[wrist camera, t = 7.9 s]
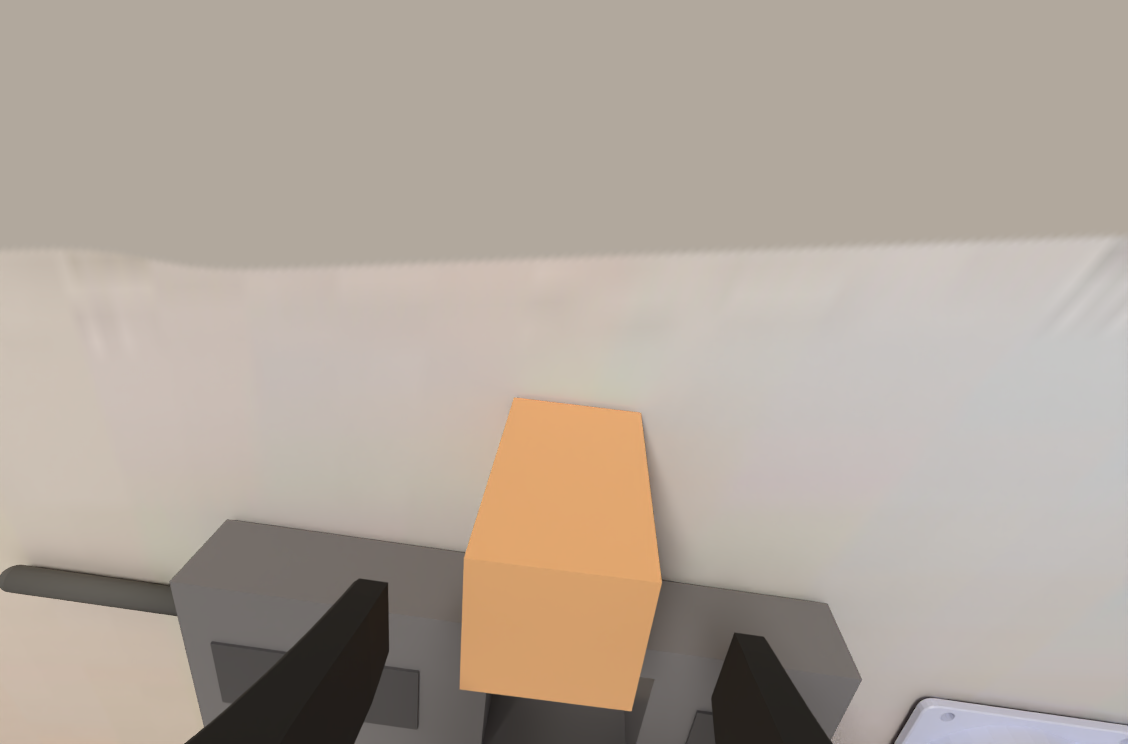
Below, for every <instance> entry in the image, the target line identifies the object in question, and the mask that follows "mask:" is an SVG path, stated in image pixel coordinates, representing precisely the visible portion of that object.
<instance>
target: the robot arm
mask: <svg viewBox="0 0 1128 744" xmlns="http://www.w3.org/2000/svg"><path fill="white" fill-rule="evenodd" d="M388 653H389V602H388V582H381V581H374V580H367V579H361V578H359V579H357V580H356V581H354V582H353V583H352V585H351V586H350V587H349V588H348V589H347V590H346V591H345V592H344V593H343V595H342V596H341V597H340V598H339V599H338V600H337V601H336V602H335V603H334V604H333V606H332V607H331V608H330V609H329V610H328V611H327V612H326V613H325V614H324V615H323V616H322V617H321V618H320V619H319V620H318V621H317V622H316V624H315V625H314V626H313V627H312V628H311V629H310V630H309V631H308V632H307V633H306V634H305V635H304V636H303V637H302V638H301V639H300V640H299V641H298V642H297V643H296V644H295V645H294V646H293V647H292V648H291V649H290V650H289V651H288V652H287V653H286V654H285V655H284V656H283V657H282V658H281V659H280V660H279V661H278V662H277V663H276V664H275V665H274V666H272V667H271V668H270V669H269V670H268V671H267V672H266V673H265V674H264V675H263V676H262V677H261V678H260V679H259V680H257V681H256V682H255V683H254V684H253V685H252V686H251V687H250V688H249V689H248V690H246V691H245V692H244V693H243V694H242V695H241V696H240V697H239V698H238V699H237V700H235V701H234V702H233V703H232V704H231V705H230V706H229V707H228V708H227V709H225V710H224V711H223V712H222V713H221V714H220V715H218V716H217V717H216V718H215V719H214V720H213V721H211V722H210V723H209V724H208V725H207V726H205V727H204V728H203V729H202V730H201V731H199V732H198V733H197V734H196V735H195V736H193V737H192V738H191V739H190V740H188V741H187V742H186V743H185V744H354V743H355V741H356V739H357V736H358V734H359V732H360V730H361V727H362V725H363V723H364V721H365V718H366V716H367V714H368V711H369V709H370V707H371V704H372V702H373V699H374V696H375V693H376V690H377V687H378V684H379V681H380V678H381V675H382V672H383V669H384V666H385V663H386V659H387V656H388ZM711 702H712V714H713V725H714V735H715V744H833V743H832V742H831V741H830V739H829V738H828V736H827V735H826V733H825V732H824V730H823V729H822V727H821V726H820V724H819V723H818V721H817V720H816V718H815V717H814V715H813V713H812V712H811V710H810V709H809V707H808V706H807V704H806V703H805V701H804V699H803V698H802V696H801V695H800V693H799V692H798V690H797V688H796V687H795V685H794V684H793V682H792V680H791V679H790V677H789V676H788V674H787V672H786V671H785V669H784V667H783V666H782V664H781V663H780V661H779V659H778V658H777V656H776V654H775V653H774V651H773V650H772V648H771V646H770V645H769V643H768V641H767V640H766V639H765V637H763V636H756V635H749V634H742V633H735V632H734V635H733V638H732V640H731V643H730V646H729V649H728V652H727V655H726V657H725V660H724V663H723V666H722V669H721V671H720V674H719V677H718V680H717V683H716V685H715V688H714V691H713V694H712V697H711ZM894 744H1128V725H1121V724H1114V723H1107V722H1100V721H1093V720H1086V719H1079V718H1072V717H1065V716H1057V715H1050V714H1043V713H1036V712H1029V711H1022V710H1015V709H1008V708H1001V707H994V706H987V705H980V704H973V703H966V702H958V701H951V700H944V699H937V698H927V699H924V700H922V701H920V702H919V703H918V705H917V706H916V708H915V710H914V711H913V713H912V715H911V716H910V718H909V720H908V721H907V723H906V725H905V726H904V728H903V729H902V731H901V733H900V734H899V736H898V738H897V739H896V741H895V743H894Z"/></svg>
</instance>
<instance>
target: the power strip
mask: <svg viewBox="0 0 1128 744" xmlns="http://www.w3.org/2000/svg"><path fill="white" fill-rule="evenodd" d="M464 556H465V553H463V552H456V551H449V550H442V549H435V548H428V547H420V546H413V545H406V544H399V543H392V542H385V541H378V540H371V539H363V538H356V537H349V536H342V535H335V534H328V533H321V532H314V531H307V530H299V529H292V528H285V527H278V526H271V525H264V524H257V523H250V522H243V521H235V520H228V519H227V520H226V521H225V522H224V523H223V524H222V525H221V526H220V528H219V529H218V530H217V531H216V532H215V533H214V534H213V535H212V536H211V537H210V538H209V539H208V541H207V542H206V543H205V544H204V545H203V546H202V547H201V548H200V549H199V550H198V551H197V552H196V554H195V555H194V556H193V557H192V558H191V559H190V560H189V561H188V562H187V563H186V564H185V565H184V567H183V568H182V569H181V570H180V571H179V572H178V573H177V574H176V575H175V576H174V577H173V578H172V579H171V581H170V586H167V585H160V584H153V583H146V582H139V581H132V580H125V579H118V578H111V577H104V576H97V575H90V574H82V573H75V572H68V571H61V570H54V569H47V568H40V567H33V566H26V565H16V566H12V567H10V568H8V569H6V570H5V571H3V572H2V574H1V575H0V588H1V589H2V590H3V591H6V592H10V593H18V594H25V595H32V596H39V597H46V598H53V599H60V600H67V601H74V602H81V603H88V604H95V605H102V606H109V607H116V608H123V609H130V610H138V611H145V612H152V613H159V614H166V615H173V616H178V620H179V624H180V628H181V632H182V637H183V641H184V645H185V649H186V653H187V658H188V662H189V666H190V670H191V674H192V678H193V683H194V687H195V691H196V695H197V699H198V704H199V708H200V712H201V716H202V720H203V724H204V727H205V726H207V725H208V724H209V723H210V722H211V721H213V720H214V719H215V718H216V717H217V716H218V715H220V714H221V713H222V712H223V711H224V710H225V709H227V708H228V707H229V706H230V705H231V704H232V703H233V702H234V701H235V700H237V699H238V698H239V697H240V696H241V695H242V694H243V693H244V692H245V691H246V690H248V689H249V688H250V687H251V686H252V685H253V684H254V683H255V682H256V681H257V680H259V679H260V678H261V677H262V676H263V675H264V674H265V673H266V672H267V671H268V670H269V669H270V668H271V667H272V666H274V665H275V664H276V663H277V662H278V661H279V660H280V659H281V658H282V657H283V656H284V655H285V654H286V653H287V652H288V651H289V650H290V649H291V648H292V647H293V646H294V645H295V644H296V643H297V642H298V641H299V640H300V639H301V638H302V637H303V636H304V635H305V634H306V633H307V632H308V631H309V630H310V629H311V628H312V627H313V626H314V625H315V624H316V622H317V621H318V620H319V619H320V618H321V617H322V616H323V615H324V614H325V613H326V612H327V611H328V610H329V609H330V608H331V607H332V606H333V604H334V603H335V602H336V601H337V600H338V599H339V598H340V597H341V596H342V595H343V593H344V592H345V591H346V590H347V589H348V588H349V587H350V586H351V585H352V583H353V582H354V581H356V580H357V579H359V578H361V579H367V580H374V581H381V582H388V602H389V653H388V656H387V659H386V663H385V666H384V669H383V672H382V675H381V678H380V681H379V684H378V687H377V690H376V693H375V696H374V699H373V702H372V704H371V707H370V709H369V711H368V714H367V716H366V718H365V721H364V723H363V725H362V727H361V730H360V732H359V734H358V736H357V739H356V741H355V743H354V744H715V735H714V725H713V714H712V702H711V697H712V694H713V691H714V688H715V685H716V683H717V680H718V677H719V674H720V671H721V669H722V666H723V663H724V660H725V657H726V655H727V652H728V649H729V646H730V643H731V640H732V638H733V635H734V632H735V633H742V634H749V635H756V636H763V637H765V639H766V640H767V641H768V643H769V645H770V646H771V648H772V650H773V651H774V653H775V654H776V656H777V658H778V659H779V661H780V663H781V664H782V666H783V667H784V669H785V671H786V672H787V674H788V676H789V677H790V679H791V680H792V682H793V684H794V685H795V687H796V688H797V690H798V692H799V693H800V695H801V696H802V698H803V699H804V701H805V703H806V704H807V706H808V707H809V709H810V710H811V712H812V713H813V715H814V717H815V718H816V720H817V721H818V723H819V724H820V726H821V727H822V729H823V730H824V732H825V733H826V735H827V736H828V738H829V739H830V740H831V738H832V736H833V735H834V733H835V731H836V729H837V727H838V725H839V723H840V721H841V719H842V717H843V715H844V713H845V711H846V710H847V708H848V706H849V704H850V702H851V700H852V698H853V696H854V694H855V692H856V690H857V688H858V687H859V685H860V683H861V681H862V678H861V676H860V674H859V672H858V670H857V667H856V665H855V663H854V661H853V659H852V656H851V654H850V652H849V650H848V648H847V645H846V643H845V641H844V639H843V637H842V635H841V632H840V630H839V628H838V626H837V624H836V621H835V619H834V617H833V615H832V613H831V610H830V608H829V606H828V604H826V603H819V602H812V601H805V600H798V599H790V598H783V597H776V596H769V595H762V594H755V593H748V592H741V591H734V590H726V589H719V588H712V587H705V586H698V585H691V584H684V583H677V582H669V581H662V585H661V589H660V593H659V597H658V601H657V606H656V610H655V614H654V618H653V623H652V627H651V631H650V635H649V640H648V644H647V648H646V652H645V656H644V661H643V665H642V669H641V673H640V678H639V682H638V686H637V690H636V694H635V699H634V703H633V707H632V711H624V710H616V709H609V708H601V707H593V706H585V705H578V704H570V703H562V702H554V701H546V700H539V699H531V698H523V697H515V696H507V695H500V694H492V693H484V692H476V691H468V690H461V689H460V660H461V630H462V599H463V569H464Z"/></svg>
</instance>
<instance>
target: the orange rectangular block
mask: <svg viewBox="0 0 1128 744" xmlns="http://www.w3.org/2000/svg"><path fill="white" fill-rule="evenodd" d="M661 585H662V580H661V572H660V564H659V556H658V547H657V539H656V531H655V523H654V515H653V507H652V499H651V491H650V483H649V474H648V466H647V458H646V450H645V442H644V434H643V426H642V418H641V413H639V412H630V411H622V410H614V409H605V408H597V407H589V406H580V405H572V404H564V403H555V402H547V401H539V400H531V399H522V398H514V400H513V403H512V406H511V409H510V412H509V416H508V419H507V422H506V425H505V428H504V432H503V435H502V438H501V441H500V444H499V448H498V451H497V454H496V457H495V460H494V463H493V467H492V470H491V473H490V476H489V479H488V483H487V486H486V489H485V492H484V495H483V499H482V502H481V505H480V508H479V511H478V515H477V518H476V521H475V524H474V527H473V531H472V534H471V537H470V540H469V543H468V547H467V550H466V553H465V556H464V569H463V599H462V630H461V660H460V689H461V690H468V691H476V692H484V693H492V694H500V695H507V696H515V697H523V698H531V699H539V700H546V701H554V702H562V703H570V704H578V705H585V706H593V707H601V708H609V709H616V710H624V711H632V707H633V703H634V699H635V694H636V690H637V686H638V682H639V678H640V673H641V669H642V665H643V661H644V656H645V652H646V648H647V644H648V640H649V635H650V631H651V627H652V623H653V618H654V614H655V610H656V606H657V601H658V597H659V593H660V589H661Z"/></svg>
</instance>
